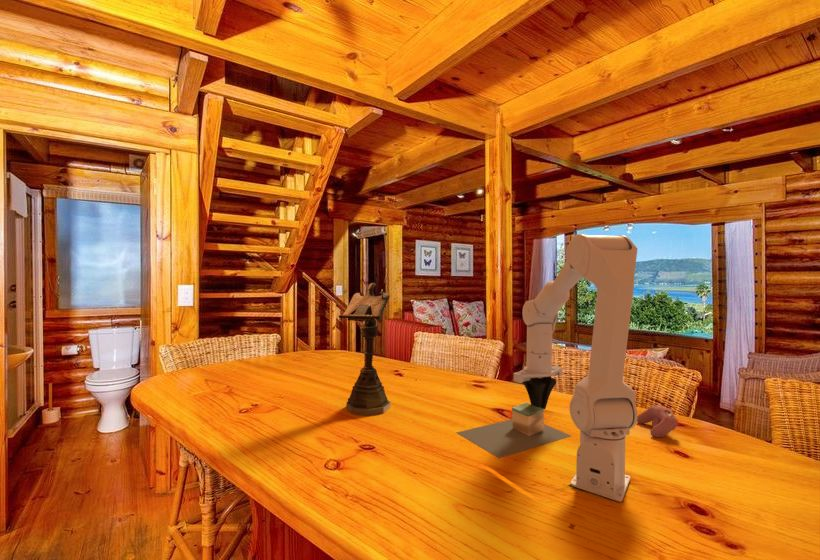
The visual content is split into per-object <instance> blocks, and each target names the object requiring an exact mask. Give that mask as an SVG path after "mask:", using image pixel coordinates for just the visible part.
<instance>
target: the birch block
mask: <svg viewBox="0 0 820 560" xmlns="http://www.w3.org/2000/svg"><path fill="white" fill-rule="evenodd" d="M544 410H545V409H542V408H540V407H537V406H534V405H531V403H530V402H524V403H523V404H519V405H515V406H513V407H511V419H512V422H513V429H515V430H518V431H520V432H522V433H524V434H526V435H528V436H530V435H533V434H536V433H538V432H541V431H543V430H544V424H545V415H544V414H545V413H544V412H545V411H544Z"/></svg>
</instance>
